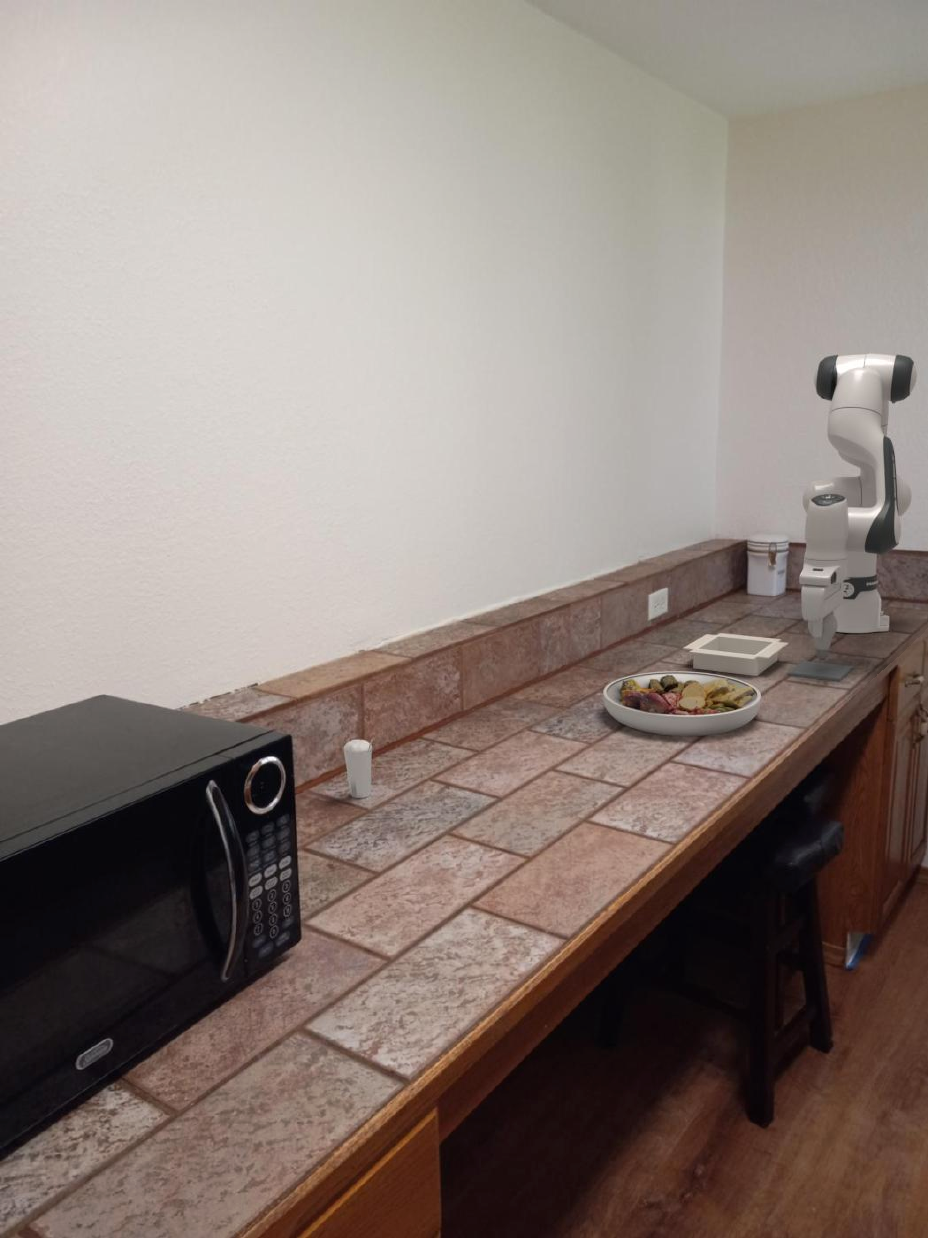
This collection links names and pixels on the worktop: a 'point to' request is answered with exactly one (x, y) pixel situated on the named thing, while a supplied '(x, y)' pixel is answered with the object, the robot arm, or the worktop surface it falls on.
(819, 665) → the mat
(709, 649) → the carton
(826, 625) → the lightbulb
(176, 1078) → the worktop surface
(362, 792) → the milkshake
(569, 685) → the worktop surface
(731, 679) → the bowl
